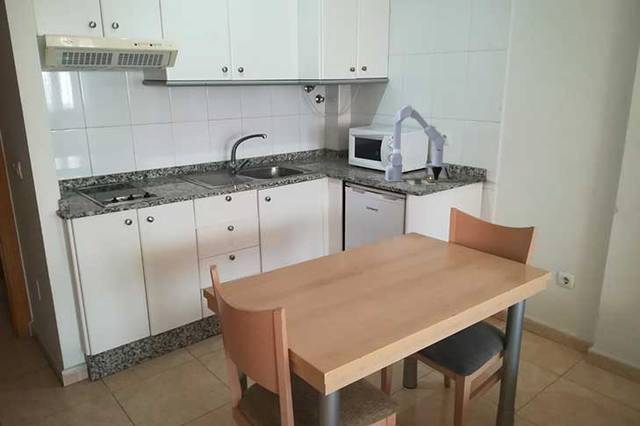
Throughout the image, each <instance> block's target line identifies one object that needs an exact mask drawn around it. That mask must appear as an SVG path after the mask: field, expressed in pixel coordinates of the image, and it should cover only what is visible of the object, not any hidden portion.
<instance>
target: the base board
mask: <svg viewBox="0 0 640 426" xmlns="http://www.w3.org/2000/svg"><path fill="white" fill-rule="evenodd" d="M406 182H407V183H408V182H409V183H408V184H409V185H412V186H413V187H415V186H417V187H418V186H437V183H436V182H434V183H428V181H426V180H425V179H424V178H423V179H421V184H414V179H406Z"/></svg>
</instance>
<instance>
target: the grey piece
mask: <svg viewBox="0 0 640 426" xmlns="http://www.w3.org/2000/svg"><path fill="white" fill-rule="evenodd" d="M428 164H432V161H431V162H429V163H428ZM427 174H428V175H432V176H434V174H433V171H432V169H431V168H427ZM438 178H441V179H448V178H451V179H452V178H453V176H452V174H451V173H450V170H449V167H442V171H441V173H440V175H439V177H438Z"/></svg>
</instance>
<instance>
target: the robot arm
mask: <svg viewBox="0 0 640 426" xmlns="http://www.w3.org/2000/svg"><path fill="white" fill-rule="evenodd" d="M409 117H410V118H411V119H413V120H416V121H417V122H418V124H419V125H420V126H421V127H422V128H423V129H424V130H423V131H424V133H425V135H426V136H427V137H428V138H429V139H430V140H431V141H433V142H432V143H433V149H432V159H431V160H432V161H431V162H432V164H429V163H424V165H423V166H424V168H425V169H428V168H431V169H432V171H433V174H434V175H433V179H434V181H438V180H439V178H440V177H439V175H440V173H441V171H442V167H448V168H450V164H449V163H443V158H444V145H445V138H444V137H443V136H442V135H441V133H440V132H439V131H438V130H437V129H436V126H434V125H432V124H431V125H430V124H428V123H427V121H426V120H425V119H424V117H422V115H421V114H420V113H419V112H418V111H417V110H416V109H415V108H413V107H412V106H411V105H410V104H404V105H403V106H402V107H400V109H399V110H398V111H397V113H396V114H395V116H394V117H393V124H392V155H391V157H390V158H391V159H390V165H386V166H385V175H384V176H385V178H384V179H385V180H386V181H387V182H390V183H391V182H405V180H404V179H403V178H402V177H403V164H402V162H403V157H402V154H401V150H402V149H401V147H402V145H401V143H402V142H401V141H402V140H401V138H402V133H401V132H402V131H401V130H402V122H403V121H404V120H405V119H408V118H409Z"/></svg>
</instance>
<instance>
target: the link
mask: <svg viewBox="0 0 640 426" xmlns="http://www.w3.org/2000/svg"><path fill="white" fill-rule="evenodd" d="M430 178H431V177H429V176H428V175H423V180H424V179H425V180H426V181H428V183H435V179H434V178H433V180H429V179H430Z"/></svg>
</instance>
